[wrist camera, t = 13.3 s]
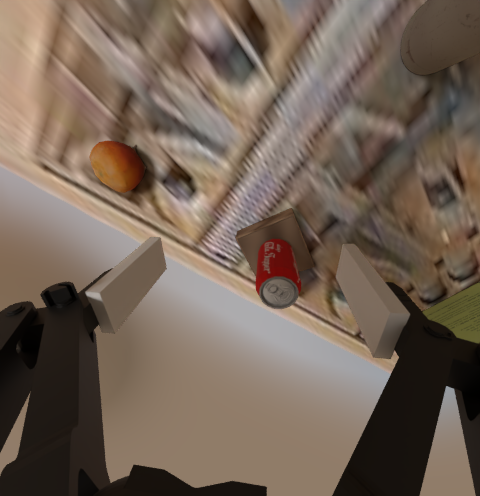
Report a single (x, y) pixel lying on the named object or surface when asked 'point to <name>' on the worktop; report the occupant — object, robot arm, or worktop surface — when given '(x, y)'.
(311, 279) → the worktop surface
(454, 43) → the thermos bottle
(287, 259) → the soda can
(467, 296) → the protein box
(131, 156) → the fruit
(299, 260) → the walnut plinth
